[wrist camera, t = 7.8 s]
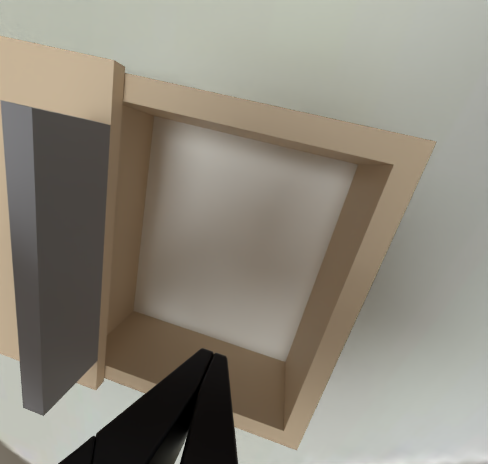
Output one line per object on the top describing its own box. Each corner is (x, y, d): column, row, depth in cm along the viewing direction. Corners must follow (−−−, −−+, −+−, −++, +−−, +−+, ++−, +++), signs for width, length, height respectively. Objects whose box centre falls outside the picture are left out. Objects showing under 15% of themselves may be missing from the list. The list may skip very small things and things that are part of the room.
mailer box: (382, 150, 13) (436, 141, 8) (295, 373, 18) (296, 450, 13) (143, 95, 14) (70, 61, 10) (123, 315, 19) (68, 364, 14)
